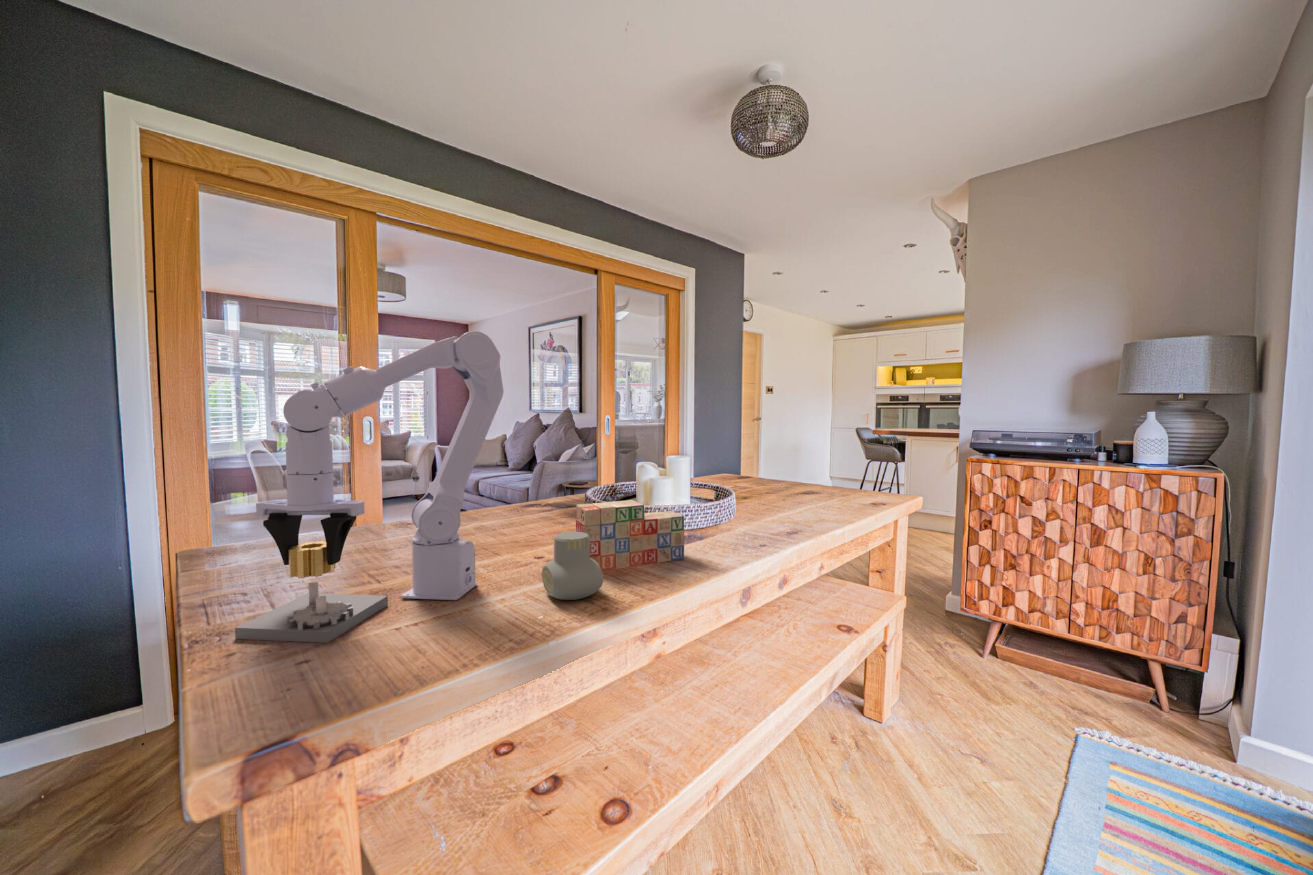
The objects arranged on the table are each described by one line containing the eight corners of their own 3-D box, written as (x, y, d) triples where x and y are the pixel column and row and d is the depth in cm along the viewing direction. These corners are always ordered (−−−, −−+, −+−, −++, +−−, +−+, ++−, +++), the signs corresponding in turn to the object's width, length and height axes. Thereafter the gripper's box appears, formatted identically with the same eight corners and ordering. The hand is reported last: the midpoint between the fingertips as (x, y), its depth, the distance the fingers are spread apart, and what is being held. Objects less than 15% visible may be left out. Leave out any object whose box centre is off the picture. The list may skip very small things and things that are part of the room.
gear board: (387, 605, 79) (387, 576, 79) (327, 642, 66) (326, 609, 66) (309, 602, 80) (308, 574, 80) (235, 638, 67) (234, 605, 67)
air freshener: (539, 588, 88) (539, 530, 87) (584, 581, 92) (584, 526, 91) (557, 610, 78) (557, 546, 78) (607, 601, 82) (607, 540, 81)
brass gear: (343, 566, 79) (342, 540, 79) (321, 578, 73) (320, 550, 73) (305, 566, 79) (304, 541, 78) (280, 578, 73) (279, 551, 73)
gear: (365, 609, 74) (365, 602, 74) (327, 631, 66) (327, 624, 66) (316, 607, 75) (315, 600, 74) (273, 629, 67) (272, 621, 67)
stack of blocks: (671, 552, 111) (671, 496, 110) (684, 560, 105) (685, 501, 104) (575, 564, 102) (575, 503, 101) (584, 573, 96) (584, 509, 96)
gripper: (374, 469, 80) (375, 555, 80) (278, 469, 79) (281, 555, 80) (348, 475, 73) (350, 568, 73) (243, 475, 72) (247, 569, 73)
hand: (312, 562), depth 76 cm, fingers closed on brass gear, 6 cm apart
